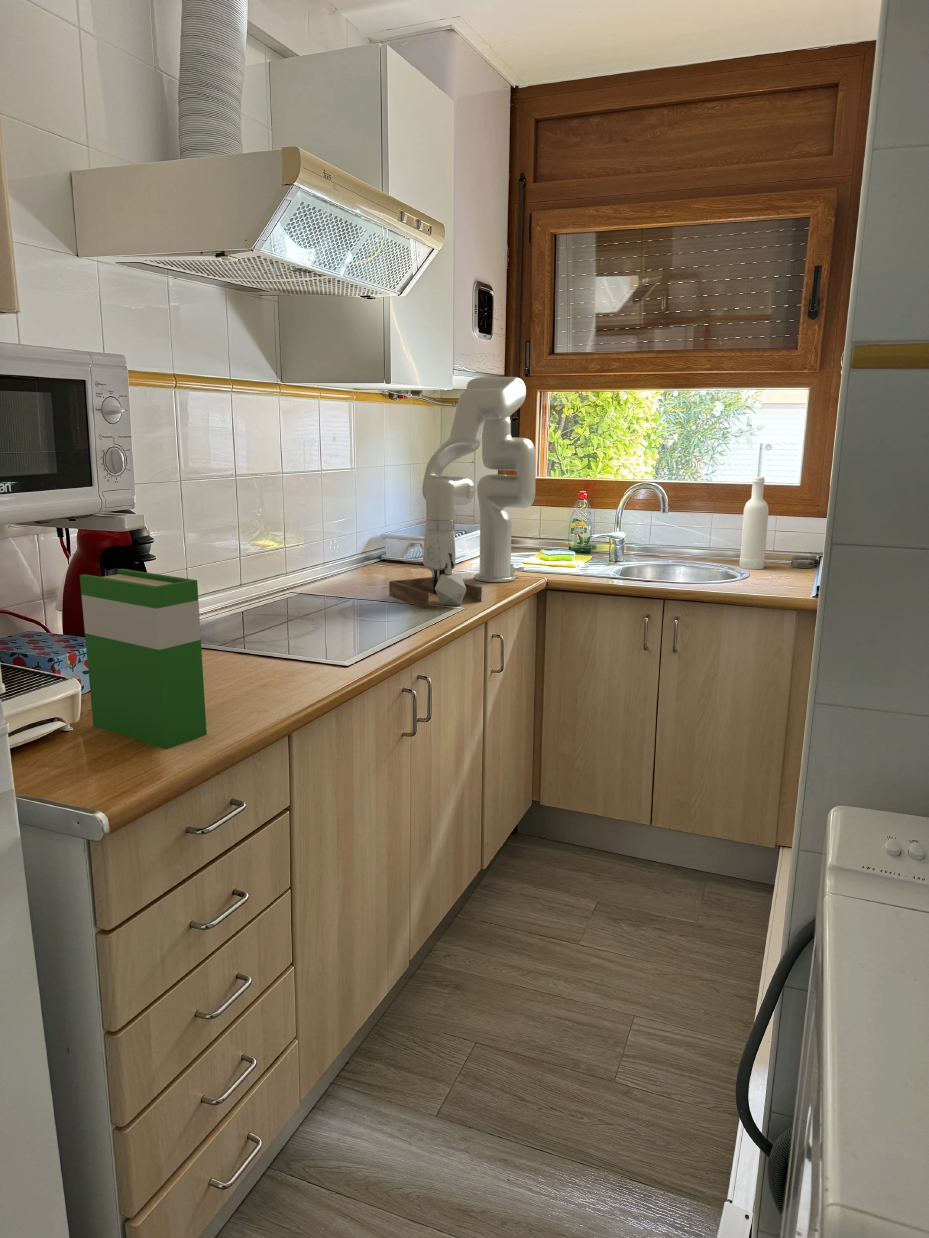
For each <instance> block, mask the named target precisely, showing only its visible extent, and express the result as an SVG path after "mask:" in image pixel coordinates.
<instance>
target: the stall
mask: <svg viewBox="0 0 929 1238" xmlns="http://www.w3.org/2000/svg"><path fill="white" fill-rule="evenodd" d="M434 580H435V579H434ZM388 582H389V583H388V589H389V591H388V592H389V593H388V594H389V595H388V596H390V597H392V598H396V599H398V600H401V601H404V602H406V603H409V604H411V605H415V606H417V607H419V608H423V609H429V608H430V605H429V604H430V593H432V592H433V578H432V576H431V577H430V576H428V577H419V578H417V577H416V578H409V579H399V580H389V581H388ZM463 582H464V584H465V587H466V592H465V595H464V597H463V599H467V600H469V601H473V602H475V603H480V602H482V601H483V600H482V595H483V594H482V590H483V589H482V588H483V587H482V586H479V585H475V584H473V583H469V582H466V581H463Z"/></svg>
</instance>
